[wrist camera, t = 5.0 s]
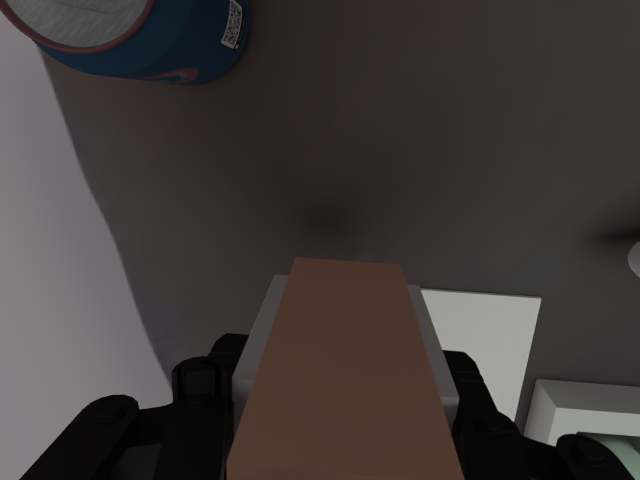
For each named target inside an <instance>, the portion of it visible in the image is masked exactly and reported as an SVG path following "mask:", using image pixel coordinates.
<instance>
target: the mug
mask: <svg viewBox="0 0 640 480" xmlns="http://www.w3.org/2000/svg"><path fill="white" fill-rule="evenodd" d="M628 263H629V266H630V268H631V269H632V270H633V272H634V273H635V274H636V275H637V276H638V277H640V241H639V242H638V243H636V244H635V245H634V246H633V247H632V248H631V250H630V251H629V254H628Z"/></svg>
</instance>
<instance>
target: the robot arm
mask: <svg viewBox="0 0 640 480" xmlns="http://www.w3.org/2000/svg"><path fill="white" fill-rule="evenodd" d="M288 277H289V275H278V274H275V275H274V277H273V280H272V282H271V284H270V287H269V289H268V292H267V294H266V296H265V299H264V301H263V304H262V306H261V309H260V311H259V313H258V316H257V318H256V321H255V323H254V325H253V328H252V330H251V333H250V335H243V334H231V333H226V334H225V335H223V336H222V337H221V338H219V339H218V340H217V341H216V342H215V344H214V345H213V347H212V349H211V352H210V353H209V355H208V356H207V357H205V356H201V357H193V358H190V359H187V360H184V361H182V362H181V363H179V364H178V365H176V366H175V368H174V369H173V371H172V372H171V373H172V391H173V403H171V404H168V405H166V406H161V407H155V408H148V409H140V410H139V406H138V402H137V401H136V400H135V399H134V398H132V397H130V396H126V395H110V396H107V397H102V398H100V399H98V400H95V401H93V402H91V403H90V404H89V405H87V406H86V407H85V408H84V409H83V410H82V411H81V412H80V413H79V414H78V415H77V417H75V419H74V420H73V421H72V422H71V423H70V424H69V425H68V426H67V427H66V428H65V430H64V431H63V432H62V433H61V434H60V435H59V436H58V437H57V438H56V440H55V441H54V442H53V443H52V444H51V445H50V446H49V447H48V448H47V450H46V451H45V452H44V453H43V454H42V455H41V456H40V457H39V459H38V460H37V461H36V462H35V463H34V464H33V465H32V466H31V467H30V468H29V469H28V471H27V472H26V473H25V474H24V475H23V476H22V477H21V478H20V479H19V480H227V463H226V462H227V459H228V456H229V453H230V450H231V447H232V444H233V441H234V438H235V435H236V432H237V429H238V426H239V423H240V420H241V417H242V414H243V411H244V408H245V405H246V402H247V400H248V397H249V394H250V391H251V388H252V385H253V382H254V379H255V376H256V373H257V370H258V367H259V364H260V361H261V358H262V355H263V352H264V349H265V346H266V343H267V340H268V337H269V334H270V331H271V328H272V325H273V322H274V319H275V316H276V313H277V310H278V307H279V304H280V301H281V298H282V295H283V292H284V289H285V286H286V283H287V280H288ZM407 288H408V291H409V294H410V298H411V301H412V305H413V308H414V311H415V315H416V318H417V321H418V325H419V328H420V331H421V335H422V338H423V342H424V345H425V348H426V352H427V355H428V358H429V362H430V365H431V369H432V372H433V375H434V379H435V382H436V385H437V389H438V392H439V395H440V399H441V402H442V406H443V409H444V412H445V416H446V419H447V422H448V426H449V429H450V433H451V436H452V439H453V443H454V446H455V449H456V453H457V456H458V459H459V463H460V466H461V470H462V473H463V476H464V480H635V479H634V477H633V476H632V475H631V473H630V472H629V471H628V470H627V468H626V467H625V466H624V464H623V463H622V462H621V461H620V459H619V458H618V457H617V456H616V455H615V454H614V453H613V452H612V451H611V450H610V449H609V448H608V447H606V446H605V445H603V444H601V443H600V442H598V441H597V440H594V439H592V438H589V437H587V436H583V435H578V434H564V435H562V436H561V437H559V438H558V439H557V443H556V446H552V445H549V444H545V443H542V442H539V441H536V440H533V439H530V438H528V437H525V436H523V435H521V434H520V432H519V430H518V428H517V426H516V424H515V423H514V422H513V421H512V420H511V419H510V418H509V417H508V416H506V415H504V414H502V413H501V412H499V411H498V410H497V408H496V405H495V403H494V401H493V399H492V397H491V395H490V392H489V390H488V388H487V386H486V384H485V383H484V380H483V377H482V375H481V374H480V371H479V369H478V367H477V364H476V362H475V361H474V360H473V359H472V358H471V357H470V356H468V355H467V354H466V353H465V352H462V351H450V350H442V348H441V345H440V342H439V339H438V337H437V334H436V331H435V328H434V325H433V323H432V320H431V317H430V314H429V311H428V309H427V306H426V303H425V300H424V297H423V295H422V292H421V289H420V286H419V285H408V284H407Z"/></svg>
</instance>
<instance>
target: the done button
mask: <svg viewBox="0 0 640 480" xmlns="http://www.w3.org/2000/svg"><path fill="white" fill-rule="evenodd" d="M578 435H583V436H587V437H589V438H592V439H594V440H597V441H598V442H600V443H601V444H603V445H605V446H606V447H608V448H609V449H610V450H611V451H612V452H613V453H614V454H615V455H616V456H617V457H618V458H619V459H620V461H621V462H622V463H623V464H624V466H625V467H626V468H627V470H628V471H629V472H630V473H631V475H632V476H633V477H634V479H635V480H640V455H639V453H638V452H637V451H636V450H635V449H634V447H633V446H632V445H631V444H630V443H629V441H628V440H627V439H626V438H625V437H624V436H623V435H615V434H603V433H591V432H579V433H578Z"/></svg>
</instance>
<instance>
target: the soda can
mask: <svg viewBox="0 0 640 480" xmlns="http://www.w3.org/2000/svg"><path fill="white" fill-rule="evenodd" d="M0 10H1V11H2V13H3V14H4V15H5V16H6V17H7V19H8V20H9V21H10V22H11V23H12V24H13V25H14V26H16V28H18V29H19V30H20V31H21V32H23V33H24V34H25V35H27V36H28V37H30V38H31V39H32V40H33V41H34V42H35V43H36V44H37V45H38V46H39V47H40V48H41V49H42V50H44V51H45V52H46V53H47V54H49V55H50V56H51V57H53V58H54V59H56V60H58V61H59V62H61V63H63V64H65V65H67V66H69V67H71V68H74V69H76V70H79V71H82V72H86V73H89V74H95V75H102V76H111V77H120V78H128V79H137V80H146V81H155V82H164V83H172V84H181V85H198V84H203V83H207V82H210V81H212V80H214V79H216V78H218V77H220V76H221V75H223V74H224V73H226V72H227V71H228V70H229V69H230V68H231V67H232V66H233V65H234V64H235V62H236V61H237V60H238V58H239V56H240V55H241V53H242V51H243V49H244V47H245V44H246V41H247V37H248V33H249V25H250V11H249V4H248V0H0Z"/></svg>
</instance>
